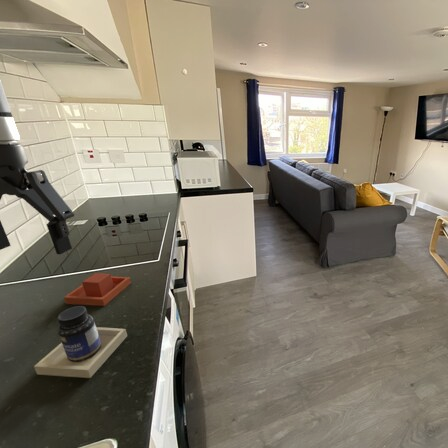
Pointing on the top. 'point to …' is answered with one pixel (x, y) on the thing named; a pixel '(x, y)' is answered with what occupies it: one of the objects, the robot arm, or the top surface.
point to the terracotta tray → (80, 296)
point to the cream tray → (61, 366)
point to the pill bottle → (78, 334)
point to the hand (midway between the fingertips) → (33, 250)
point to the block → (98, 284)
